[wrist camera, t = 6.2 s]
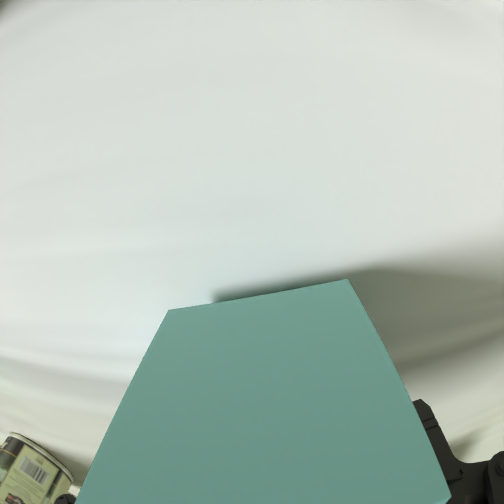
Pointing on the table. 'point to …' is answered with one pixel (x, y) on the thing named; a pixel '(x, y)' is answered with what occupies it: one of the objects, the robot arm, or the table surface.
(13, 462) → the coffee can
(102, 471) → the teal block
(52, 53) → the table surface
